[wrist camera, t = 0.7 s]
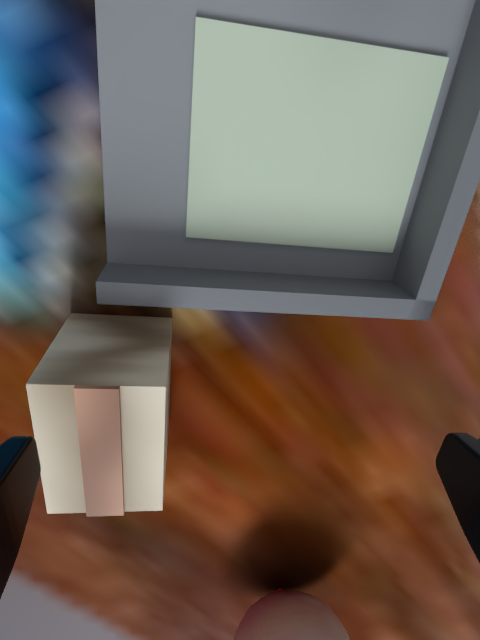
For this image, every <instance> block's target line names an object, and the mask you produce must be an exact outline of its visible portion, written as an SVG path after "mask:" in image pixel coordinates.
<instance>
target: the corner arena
mask: <svg viewBox="0 0 480 640" xmlns="http://www.w3.org/2000/svg"><path fill="white" fill-rule="evenodd" d="M95 12H96V34H97V55H98V77H99V99H100V120H101V142H102V163H103V185H104V206H105V228H106V249H107V263H106V265H105V267H104V268H103V270H102V272H101V273H100V275H99V277H98V278H97V280H96V296H97V304H107V305H127V306H147V307H168V308H188V309H208V310H229V311H249V312H269V313H289V314H310V315H330V316H350V317H370V318H391V319H411V320H429V319H430V316H431V313H432V311H433V308H434V305H435V302H436V299H437V297H438V294H439V291H440V288H441V286H442V283H443V280H444V277H445V275H446V272H447V269H448V266H449V263H450V261H451V258H452V255H453V252H454V250H455V247H456V244H457V241H458V239H459V236H460V233H461V230H462V227H463V225H464V222H465V219H466V216H467V214H468V211H469V208H470V205H471V203H472V200H473V197H474V194H475V191H476V189H477V186H478V183H479V180H480V0H95Z"/></svg>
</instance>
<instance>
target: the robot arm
mask: <svg viewBox="0 0 480 640" xmlns="http://www.w3.org/2000/svg"><path fill="white" fill-rule="evenodd" d="M436 467H437V471H438V473H439V475H440V478H441V480H442V483H443V485H444V487H445V490H446V492H447V494H448V497H449V499H450V501H451V504H452V506H453V509H454V511H455V513H456V516H457V518H458V520H459V523H460V525H461V527H462V529H463V532H464V534H465V536H466V538H467V540H468V542H469V544H470V546H471V548H472V550H473V551H474V553H475V555H476V557H477V559H478V561H479V563H480V440H478V439H476V438H475V437H473V436H471V435H469V434H467V433H449V434H448V435H446V437H445V439H444V441H443V443H442V446H441V448H440V450H439V453H438V455H437V458H436ZM40 472H41V465H40V460H39V455H38V449H37V444H36V440H35V439H34V438H33V437H31V436H14V437H11V438H9V439H7V440H6V441H5V442H3V443H2V444H1V445H0V598H1V596H2V593H3V591H4V588H5V586H6V583H7V581H8V578H9V576H10V573H11V571H12V568H13V566H14V563H15V560H16V558H17V555H18V551H19V548H20V545H21V542H22V538H23V535H24V531H25V528H26V524H27V520H28V517H29V513H30V510H31V506H32V503H33V499H34V496H35V492H36V489H37V485H38V482H39V478H40Z"/></svg>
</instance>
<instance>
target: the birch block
mask: <svg viewBox="0 0 480 640" xmlns="http://www.w3.org/2000/svg"><path fill="white" fill-rule="evenodd" d="M171 341H172V318H166V317H144V316H122V315H100V314H79V313H70V315H69V317H68V318H67V320H66V321H65V323H64V324H63V326H62V328H61V329H60V331H59V332H58V334H57V336H56V337H55V339H54V340H53V342H52V343H51V345H50V347H49V348H48V350H47V351H46V353H45V355H44V356H43V358H42V359H41V361H40V362H39V364H38V366H37V367H36V369H35V370H34V372H33V374H32V375H31V377H30V378H29V380H28V381H27V383H26V389H27V395H28V401H29V407H30V413H31V419H32V424H33V430H34V436H35V440H36V444H37V449H38V455H39V460H40V465H41V478H42V484H43V490H44V496H45V502H46V508H47V514H53V513H86V516H87V517H88V516H121V515H124V511H159V510H162V509H163V495H164V481H165V468H166V454H167V440H168V426H169V401H170V371H171Z"/></svg>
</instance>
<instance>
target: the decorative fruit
mask: <svg viewBox="0 0 480 640" xmlns="http://www.w3.org/2000/svg"><path fill="white" fill-rule="evenodd" d="M234 640H350V638H349V636H348V634H347V632H346V630H345V628H344V627H343V625H342V623H341V622H340V620H339V619H338V618H337V616H336V615H335V614H334V612H333V611H332V610H331V609H330V608H329V607H328V606H327V605H326V604H325V603H324V602H322V601H321V600H319V599H318V598H316V597H314V596H312V595H309V594H306V593H303V592H293V591H286V590H283V589H281V588H279V589H277V590H276V591H275V592H272V593H270V594H268V595H266V596H265V597H263V598H261V599H260V600H258V601H257V602H256V603H254V604H253V605H252V606H251V607H250V608H249V610H248V611H247V612H246V614H245V616H244V617H243V619H242V621H241V623H240V625H239V627H238V629H237V631H236V634H235V637H234Z"/></svg>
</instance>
